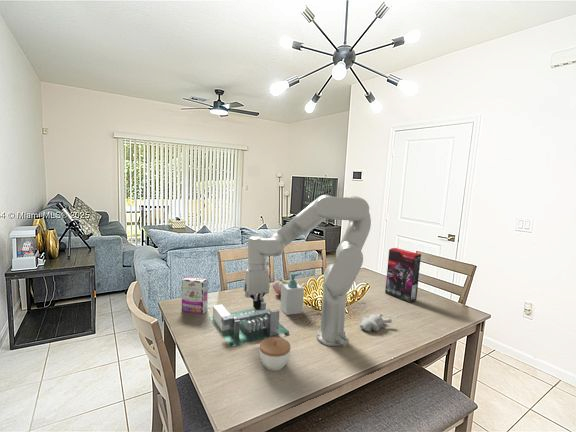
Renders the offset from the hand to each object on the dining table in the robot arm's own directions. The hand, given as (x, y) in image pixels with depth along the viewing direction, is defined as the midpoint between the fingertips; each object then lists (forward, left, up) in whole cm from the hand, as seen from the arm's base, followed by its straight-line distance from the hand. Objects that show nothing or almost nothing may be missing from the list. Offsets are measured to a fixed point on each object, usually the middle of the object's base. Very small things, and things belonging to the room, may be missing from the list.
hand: (257, 308), depth 127 cm
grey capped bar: (+1, +4, -4) cm, 6 cm away
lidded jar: (-24, +4, -11) cm, 26 cm away
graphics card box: (0, -92, -11) cm, 92 cm away
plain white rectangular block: (+12, +11, -10) cm, 19 cm away
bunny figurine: (-20, -50, -11) cm, 55 cm away
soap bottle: (+12, -25, -11) cm, 29 cm away
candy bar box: (+30, +18, -11) cm, 36 cm away
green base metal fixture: (+6, +1, -10) cm, 12 cm away
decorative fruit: (+31, -30, -11) cm, 44 cm away
